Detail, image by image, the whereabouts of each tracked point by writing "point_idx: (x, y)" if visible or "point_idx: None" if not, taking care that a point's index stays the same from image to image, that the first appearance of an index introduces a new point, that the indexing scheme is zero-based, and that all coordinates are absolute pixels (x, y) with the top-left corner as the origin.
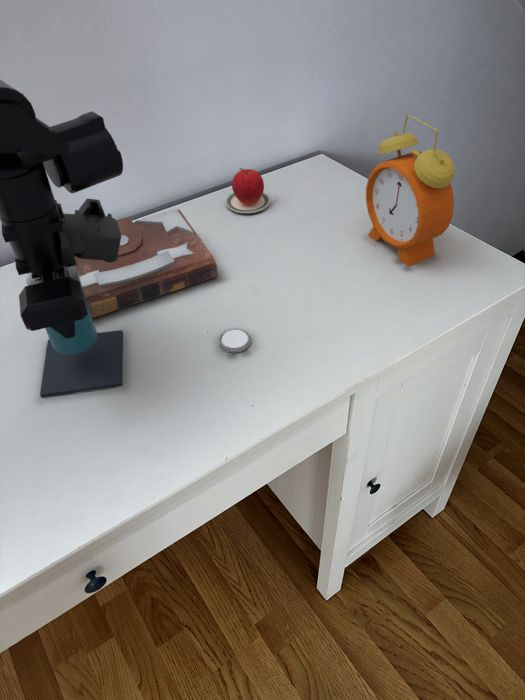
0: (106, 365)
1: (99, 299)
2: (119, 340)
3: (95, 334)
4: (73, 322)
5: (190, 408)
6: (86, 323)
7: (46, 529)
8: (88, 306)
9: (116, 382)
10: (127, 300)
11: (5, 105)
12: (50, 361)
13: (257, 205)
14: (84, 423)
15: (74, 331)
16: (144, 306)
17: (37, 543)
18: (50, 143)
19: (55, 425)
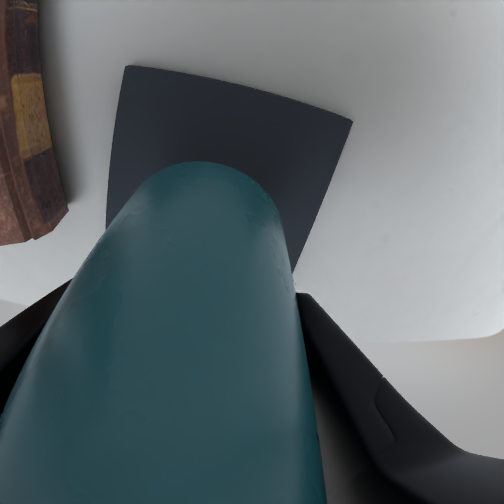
0: (264, 138)
1: (12, 126)
2: (169, 79)
3: (234, 176)
4: (371, 364)
5: (480, 25)
6: (269, 246)
7: (497, 303)
8: (183, 238)
9: (344, 132)
10: (27, 43)
11: None
12: None
13: None
14: (400, 229)
15: (325, 313)
16: (52, 3)
17: (500, 311)
18: None
19: (368, 276)
